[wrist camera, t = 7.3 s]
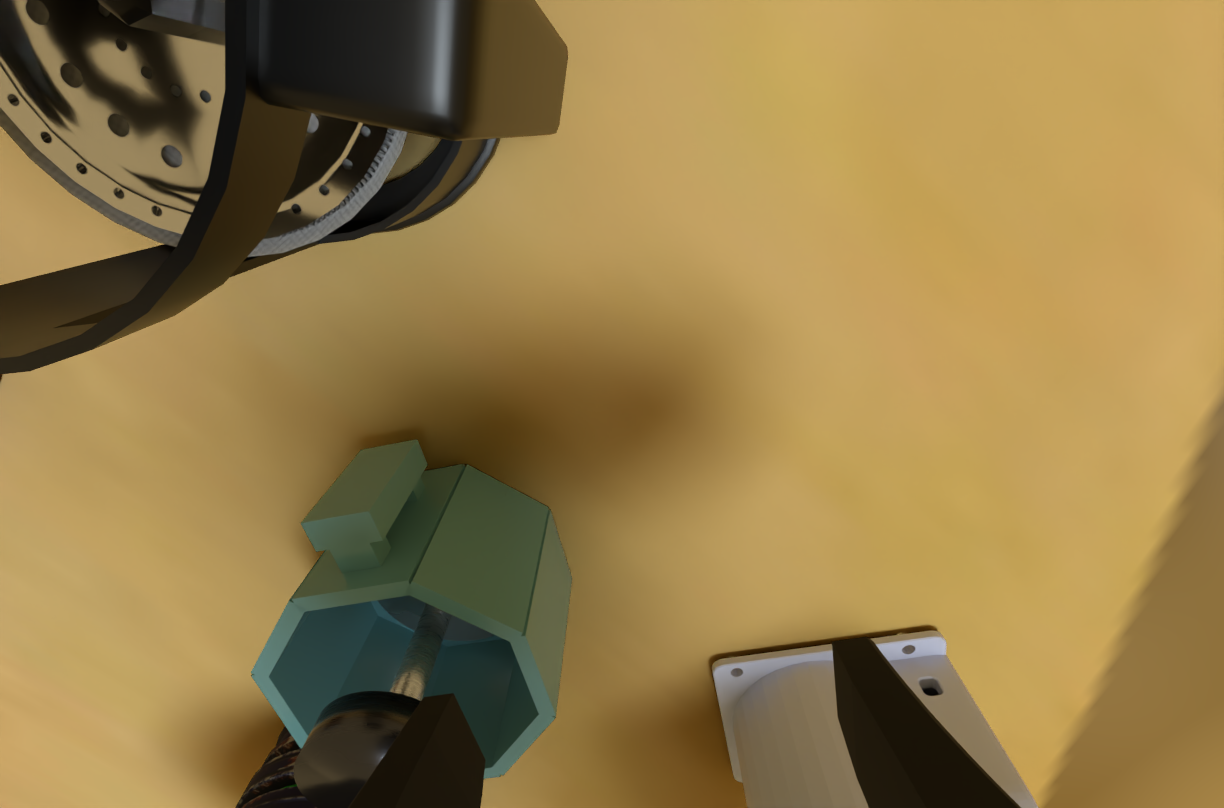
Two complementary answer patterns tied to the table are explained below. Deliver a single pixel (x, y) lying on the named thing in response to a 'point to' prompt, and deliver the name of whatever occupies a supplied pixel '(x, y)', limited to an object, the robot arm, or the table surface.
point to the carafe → (426, 598)
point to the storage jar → (276, 779)
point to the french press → (249, 135)
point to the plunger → (375, 710)
